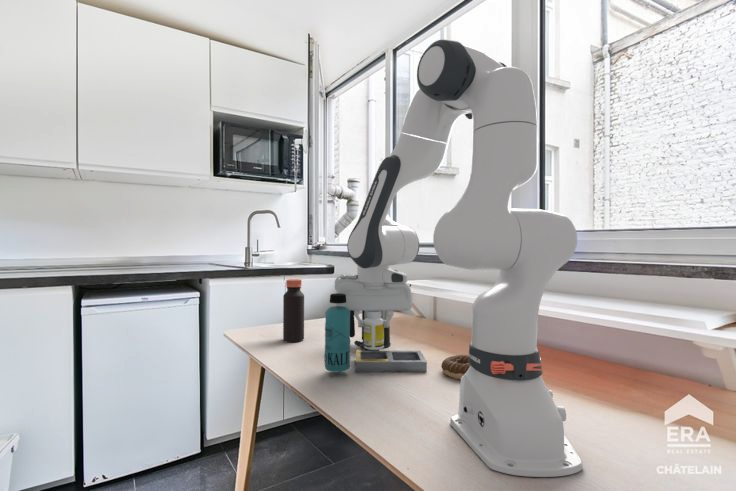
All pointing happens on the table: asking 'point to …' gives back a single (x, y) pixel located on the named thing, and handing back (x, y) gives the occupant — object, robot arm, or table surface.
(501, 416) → the robot arm
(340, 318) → the beverage bottle
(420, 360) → the grey compartment tray
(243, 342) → the table surface
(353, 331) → the milk frother
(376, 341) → the supplement bottle
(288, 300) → the vinegar
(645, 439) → the table surface
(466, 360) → the donut
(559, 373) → the table surface
